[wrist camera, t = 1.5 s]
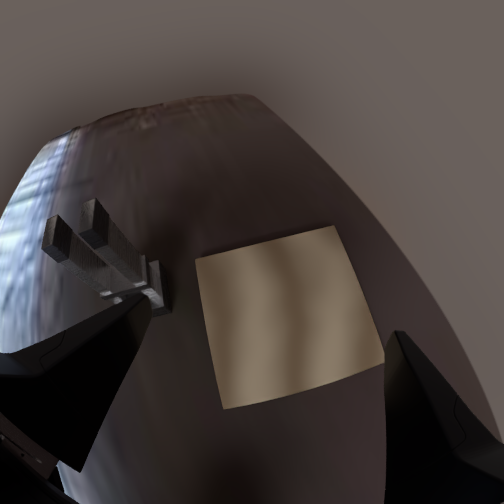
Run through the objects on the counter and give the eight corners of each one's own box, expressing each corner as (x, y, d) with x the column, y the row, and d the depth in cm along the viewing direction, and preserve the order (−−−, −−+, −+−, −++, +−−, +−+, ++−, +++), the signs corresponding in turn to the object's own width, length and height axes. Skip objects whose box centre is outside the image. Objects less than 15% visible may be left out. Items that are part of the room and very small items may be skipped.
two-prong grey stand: (125, 323, 24) (35, 265, 13) (122, 281, 27) (46, 209, 15) (171, 312, 25) (95, 242, 13) (165, 268, 27) (101, 183, 16)
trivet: (226, 408, 20) (223, 409, 19) (198, 265, 27) (194, 259, 26) (381, 362, 21) (386, 360, 20) (332, 231, 27) (333, 225, 26)
